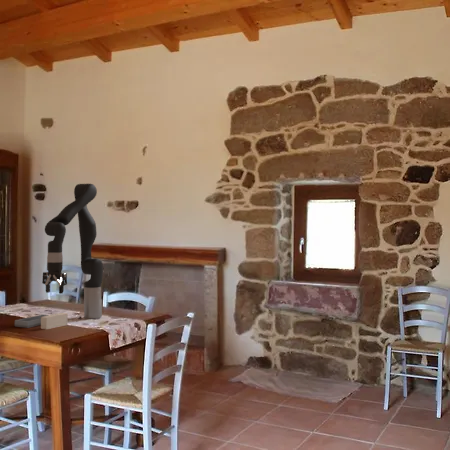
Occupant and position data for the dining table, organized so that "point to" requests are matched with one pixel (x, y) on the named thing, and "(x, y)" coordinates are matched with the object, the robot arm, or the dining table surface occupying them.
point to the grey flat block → (29, 321)
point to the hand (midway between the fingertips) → (54, 293)
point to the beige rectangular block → (54, 321)
